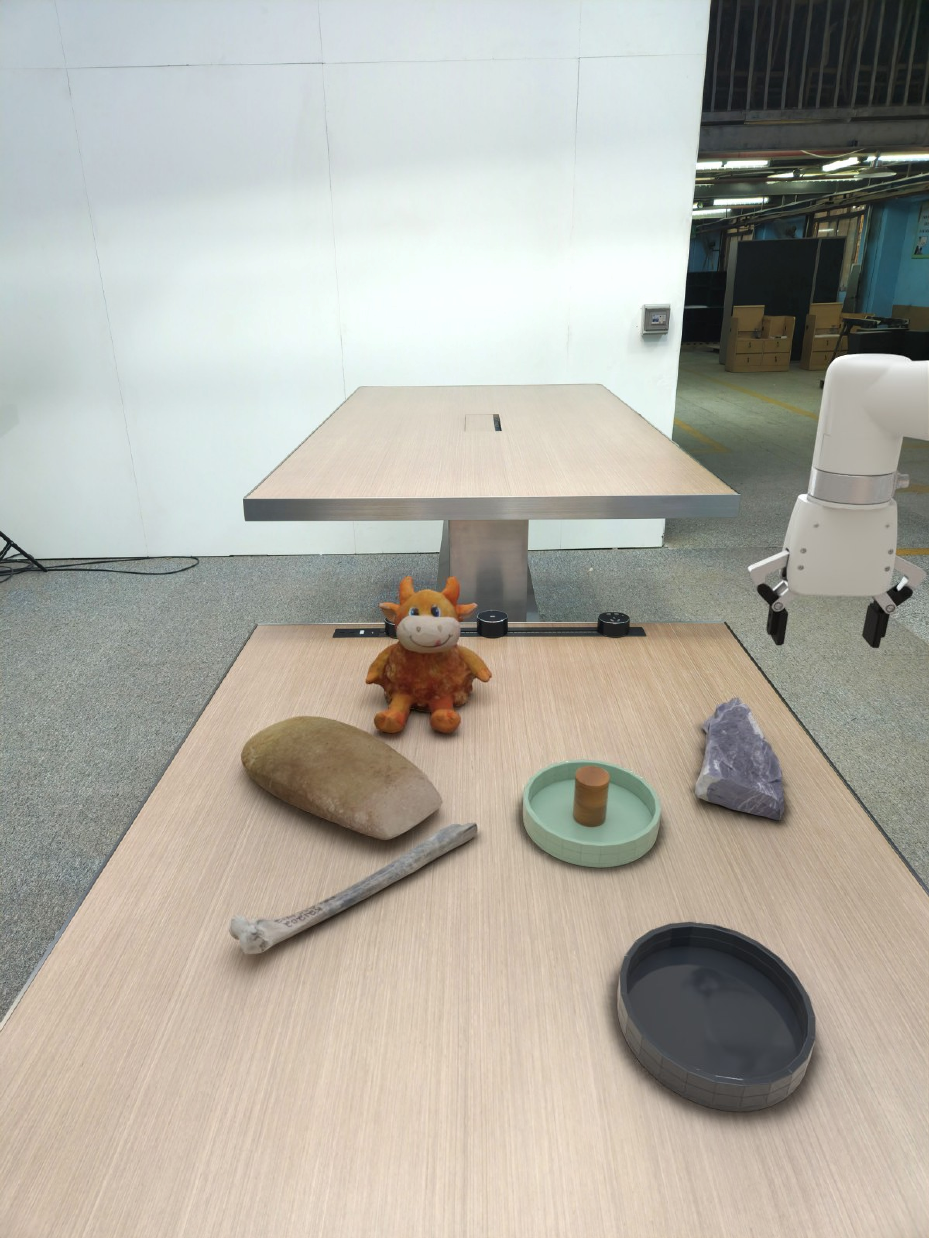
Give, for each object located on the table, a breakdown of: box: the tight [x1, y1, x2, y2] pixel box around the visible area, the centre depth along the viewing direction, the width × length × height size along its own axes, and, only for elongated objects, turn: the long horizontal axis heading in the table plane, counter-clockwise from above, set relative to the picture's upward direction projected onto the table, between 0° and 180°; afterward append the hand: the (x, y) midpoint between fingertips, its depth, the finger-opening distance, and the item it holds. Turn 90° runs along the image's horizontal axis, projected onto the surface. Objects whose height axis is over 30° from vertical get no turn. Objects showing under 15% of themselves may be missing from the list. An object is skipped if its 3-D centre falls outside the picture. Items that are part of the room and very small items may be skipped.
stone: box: [240, 715, 444, 841], centre depth 96 cm, size 30×15×6 cm, turn 51°
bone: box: [228, 822, 478, 955], centre depth 80 cm, size 29×4×5 cm, turn 129°
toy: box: [365, 575, 493, 734], centre depth 116 cm, size 19×22×25 cm
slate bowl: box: [616, 921, 817, 1113], centre depth 66 cm, size 16×16×3 cm
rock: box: [694, 697, 786, 821], centre depth 101 cm, size 25×11×5 cm, turn 161°
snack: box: [573, 766, 610, 827], centre depth 90 cm, size 4×4×6 cm
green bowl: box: [522, 758, 662, 868], centre depth 90 cm, size 16×16×3 cm
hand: (822, 641), depth 81 cm, fingers open, 9 cm apart
